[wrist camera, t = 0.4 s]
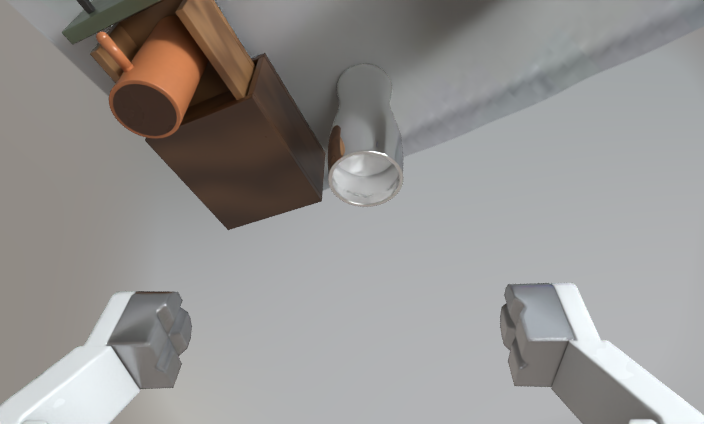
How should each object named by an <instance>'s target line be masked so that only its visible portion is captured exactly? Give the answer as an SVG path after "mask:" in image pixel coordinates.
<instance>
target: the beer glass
mask: <svg viewBox="0 0 704 424" xmlns="http://www.w3.org/2000/svg"><path fill="white" fill-rule="evenodd" d="M336 91H337V97H338V101H339V109H338V112H337V114H336V117H335V120H334V122H333V125H332V129H331V132H330V136H329V144H328V173H329V176H328V182H329V186H330V188H331V190H332V192H333V193H334V194H335V195H336V196H337V197H338V198H339V199H340V200H342V201H344V202H346V203H348V204H351V205H354V206H360V207H371V206H377V205H380V204H383V203H385V202H387V201H389V200H391V199H392V198H393V197H394V196H396V194H397V193H398V192H399V191H400V189H401V187H402V184H403V145H402V139H401V134H400V130H399V127H398V124H397V122H396V119H395V117H394V114H393V112H392V109H391V107H390V100H391V96H392V82H391V80H390V77H389V76H388V74H387V73H386V72H385V71H384V70H383V69H381V68H380V67H378V66H376V65H372V64H357V65H354V66H352V67H350V68H348V69H347V70H345V71H344V72H343V73H342V74H341V76H340V78H339V80H338V82H337V87H336Z"/></svg>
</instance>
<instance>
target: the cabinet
mask: <svg viewBox="0 0 704 424" xmlns="http://www.w3.org/2000/svg"><path fill="white" fill-rule="evenodd" d="M251 60H252V61H253V63H254V65H255V66H256V69H255V72H254V75H253V78H252V82H251V85H250V88H249V92H248V95H247V96H246V97H243V98H241V99H238V100H236V101H233V102H231V103H228V104H226V105H223V106H221V107H218V108H216V109H214V110H211V111H209V112H206V113H204V114H201V115H199V116H196V117H194V118H191V119H189V120H186V121H184V122H181V124H180V126H179V128H178V130H177V131H176V132H175V133H173V134H172V135H170V136H168V137H165V138H147V137H146V139H145V141H146V142H147V143H148V144H149V145H150V146H151V147H152V148H153V150H154V151H155V152H156V153H157V154H158V155H159V156H160V157H161V158H162V159H163V160H164V161H165V163H166V164H168V166H169V167H170V168H171V169H172V170H173V171H174V172H175V173H176V174H177V175H178V177H180V179H181V180H182V181H183V182H184V183H185V184H186V185H187V186H188V187H189V188H190V189H191V191H192V192H193V193H194V194H195V195H196V196H197V197H198V198H199V199H200V200H201V201H202V202H203V203H204V204H205V206H206V207H207V208H209V210H210V211H211V212H212V213H213V214H214V215H215V216H216V217H217V219H218V220H219V221H220V222H221V223H222V224H223V225H224V226H225V227H226V228H227V229H228V230H230V229H233V228H236V227H239V226H243V225H246V224H249V223H252V222H256V221H259V220H262V219H265V218H269V217H272V216H275V215H278V214H282V213H285V212H288V211H291V210H295V209H298V208H301V207H304V206H308V205H311V204H314V203H318V202H321V201H322V191H323V178H324V166H325V152H324V150H323V149H322V147H321V145H320V144H319V142H318V140H317V139H316V137H315V135H314V134H313V132H312V130H311V129H310V127H309V125H308V124H307V122H306V120H305V119H304V117H303V115H302V114H301V112H300V110H299V109H298V107H297V105H296V104H295V102H294V100H293V99H292V97H291V95H290V94H289V92H288V90H287V89H286V87H285V85H284V84H283V82H282V80H281V79H280V77H279V75H278V74H277V72H276V70H275V69H274V67H273V66H272V64H271V62H270V61H269V59H268V57H267V56H266V54H265V53H264V54H261V55H259V56H257V57H254V58H252V59H251Z"/></svg>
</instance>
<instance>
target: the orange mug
mask: <svg viewBox="0 0 704 424" xmlns="http://www.w3.org/2000/svg"><path fill="white" fill-rule="evenodd" d="M96 39H97V41H98V42H99V43H100V44H101V46H102V47H103V48H104V49H105V50H106V51H107V53H108V54H109V55H110V56H111V57H112V58H113V60H114V61H115V62H116V63H117V64H118V65H119V67H120V68H121V69H122V70H123V71H124V72H123V73H122V75H121V76H120V78H119V79H118V81H117V82H116V84H115V85H114V87H113V88H112V90H111V92H110V94H109V105H110V108H111V111H112V113H113V115H114V116H115V118H116V119H117V120H118V121H119V122H120V123H121V124H122V125H123V126H124V127H125V128H127V129H128V130H130V131H131V132H133V133H135V134H138V135H140V136H143V137H147V138H165V137H168V136H170V135H172V134H173V133H175V132H176V131H177V130H178V128H179V126H180V124H181V122H182V120H183V118H184V115H185V113H186V111H187V109H188V106H189V104H190V102H191V100H192V98H193V95H194V93H195V91H196V89H197V86H198V84H199V82H200V80H201V78H202V75H203V73H204V71H205V69H206V66H207V64H208V62H209V60H208V58H207V57H206V55H205V54H204V53H203V51H202V50H201V48H200V47H199V45H198V44H197V43H196V41H195V40H194V38H193V37H192V36H191V34H190V33H189V31H188V30H187V28H186V27H185V26H184V24H183V23H182V21H181V20H180V18H179V17H178V16H168V17H165V18H163V19H161V20H160V21H159V22H158V23H157V24H156V25H155V27H154V28H153V30H152V31H151V32H150V34H149V35H148V37H147V38H146V40H145V41H144V43H143V44H142V46H141V47H140V49H139V50H138V51H137V53H136V54H135V56H134V57H133V59H132V60H131V62H130V61H129V59H128V58H127V57H126V56H125V55H124V53H123V52H122V51H121V50H120V48H119V47H118V46H117V45H116V44H115V42H114V41H113V40H112V39H111V38H110V36H109V35H108V34H107V33H105V32H98V33H97V35H96Z"/></svg>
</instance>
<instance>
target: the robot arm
mask: <svg viewBox="0 0 704 424" xmlns="http://www.w3.org/2000/svg"><path fill="white" fill-rule="evenodd" d="M504 295H505V299H506V304H505V305H504V306H503V307H502V309H501V315H500V328H501V335H502V339H503V343H504V345H505V346H506V347H507V348H508V349H509V350H510V355H509V359H508V363H509V367H510V371H511V374H512V378H513V382H514V386H535V387H537V386H539V387H552V388H551V389H552V390H553V391H554V392H555V393H556V395H557V396H558V397H559V398H560V399H561V400H562V401H563V402H564V403H565V404H566V406H567V407H568V408H569V409H570V410H571V411H572V412H573V413H574V415H575V416H576V417H577V418H578V419H579V420H580V421H581V422H582V423H583V424H704V415H703V414H701V413H700V412H699V411H697V410H696V409H695V408H694V407H692V406H691V405H690V404H689V403H687V402H686V401H685V400H683V399H682V398H681V397H680V396H678V395H677V394H676V393H674V392H673V391H672V390H671V389H669V388H668V387H667V386H666V385H664V384H663V383H661V382H660V381H659V380H658V379H657V378H655V377H654V376H653V375H651V374H650V373H649V372H648V371H646V370H645V369H644V368H643V367H641V366H640V365H639V364H637V363H636V362H635V361H633V360H632V359H631V358H630V357H628V356H627V355H626V354H625V353H623V352H622V351H620V350H619V349H618V348H617V347H616V346H614V345H613V344H612V343H610V342H609V341H608V340H601V339H600V337H599V335H598V333H597V331H596V328H595V326H594V324H593V322H592V319H591V317H590V315H589V313H588V311H587V309H586V306H585V304H584V302H583V300H582V297H581V295H580V293H579V291H578V289H577V287H576V285H575V284H573V283H551V284H549V283H541V284H540V283H538V284H508V285H507V287H506V289H505V294H504ZM181 303H182V299H181V297H180V295H179V293H178V292H144V291H138V292H117V293H115V294H114V295H113V296H112V297H111V298H110V300H109V302H108V304H107V306H106V307H105V309H104V311H103V313H102V314H101V316H100V318H99V320H98V321H97V323H96V325H95V327H94V329H93V330H92V332H91V334H90V336H89V338H88V339H87V341H86V343H85V345H84V346H78V347H76V348H75V349H74V350H72V351H71V352H70V353H68V354H67V355H66V356H64V357H63V358H62V359H61V360H59V361H58V362H57V363H55V364H54V365H53V366H51V367H50V368H48V369H47V370H46V371H45V372H43V373H42V374H41V375H39V376H38V377H36V378H35V379H34V380H33V381H31V382H30V383H28V384H27V385H26V386H25V387H23V388H22V389H21V390H19V391H18V392H16V393H15V394H14V395H12V396H11V397H10V398H8V399H7V400H6V401H5V402H3V403H2V404H1V405H0V424H110V423H111V422H112V420H113V419H114V418H115V417H116V416H117V415H118V414H119V413H120V412H121V411H122V410H123V409H124V408H125V407H126V406H127V404H128V403H129V402H130V401H131V400H132V399H133V398H134V397H135V396H136V395H137V394H138V392H140V389H150V388H151V389H153V388H173V387H174V384H175V381H176V379H177V376H178V373H179V370H180V368H181V365H182V363H181V361H180V358H179V355H180V354H181V353H183V352H184V351H185V350H186V349H187V347H188V345H189V342H190V339H191V330H192V325H191V319H190V316H189V314H188V312H187V311H185V310H184V309H182V308H181V307H180V306H181Z"/></svg>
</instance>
